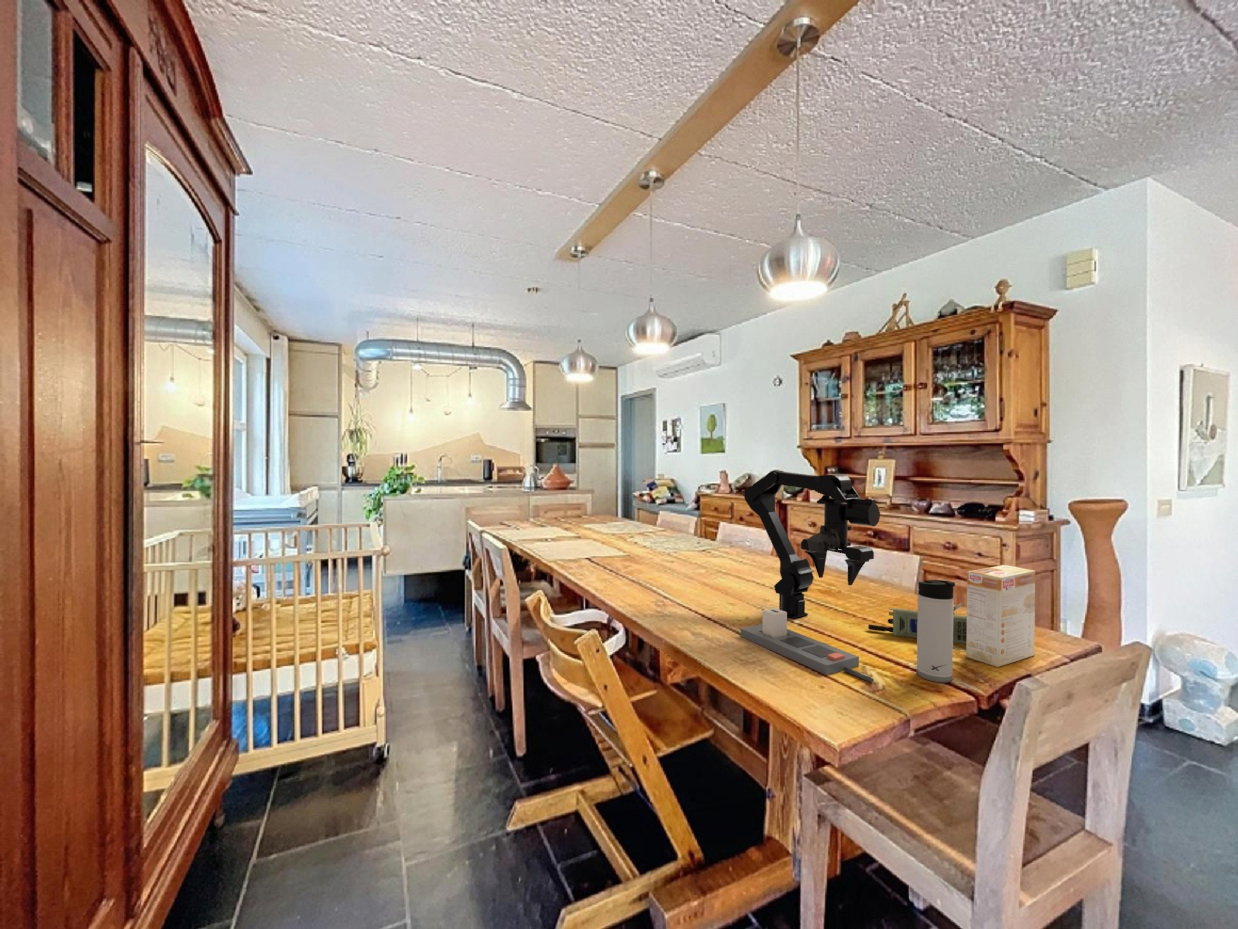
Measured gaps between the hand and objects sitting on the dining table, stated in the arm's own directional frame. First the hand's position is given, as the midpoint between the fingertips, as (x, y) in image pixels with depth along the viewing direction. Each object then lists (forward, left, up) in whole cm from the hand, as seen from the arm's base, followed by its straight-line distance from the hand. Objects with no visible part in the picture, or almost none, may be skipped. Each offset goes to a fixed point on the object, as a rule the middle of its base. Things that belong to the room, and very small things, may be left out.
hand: (835, 581), depth 138 cm
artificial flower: (+13, +27, -12) cm, 33 cm away
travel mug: (+31, -8, -12) cm, 34 cm away
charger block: (+1, -22, -12) cm, 25 cm away
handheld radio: (+16, +13, -12) cm, 24 cm away
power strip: (+10, -22, -12) cm, 27 cm away
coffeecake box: (+32, +16, -12) cm, 37 cm away
